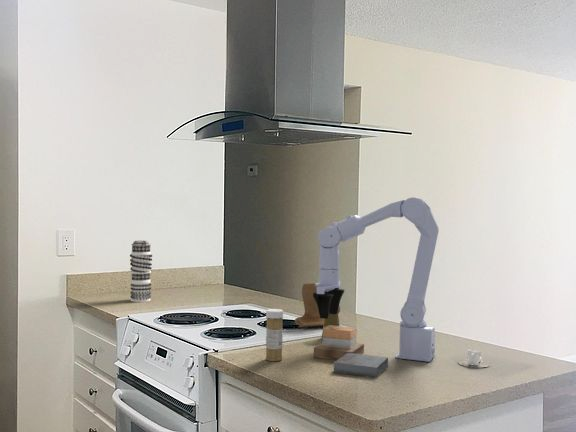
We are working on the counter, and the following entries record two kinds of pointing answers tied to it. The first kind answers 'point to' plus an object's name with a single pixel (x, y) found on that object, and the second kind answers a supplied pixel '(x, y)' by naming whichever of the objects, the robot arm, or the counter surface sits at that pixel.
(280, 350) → the sprinkles bottle
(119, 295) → the counter surface
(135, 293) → the decorative candle
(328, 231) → the robot arm
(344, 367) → the stand
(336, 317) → the olive tapered column
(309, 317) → the tan boot
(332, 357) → the stand
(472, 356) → the teacup and saucer
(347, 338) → the block
